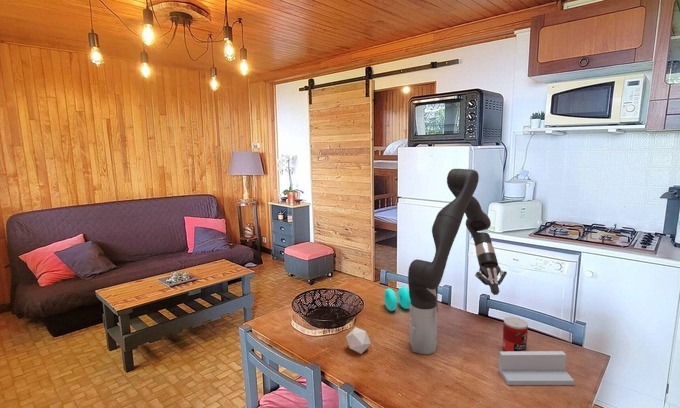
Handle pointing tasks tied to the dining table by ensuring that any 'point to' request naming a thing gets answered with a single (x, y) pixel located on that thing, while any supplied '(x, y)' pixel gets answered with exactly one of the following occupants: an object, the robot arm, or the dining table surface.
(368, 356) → the dining table surface
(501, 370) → the stop board
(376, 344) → the dining table surface
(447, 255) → the robot arm
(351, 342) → the die
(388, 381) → the dining table surface
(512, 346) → the canned food
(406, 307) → the pair of cyan discs
